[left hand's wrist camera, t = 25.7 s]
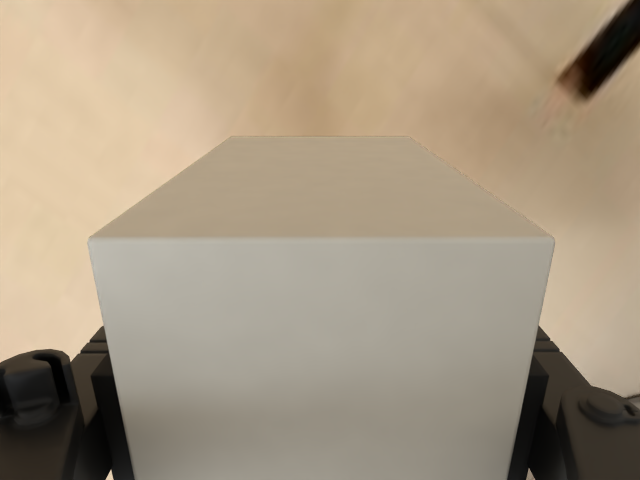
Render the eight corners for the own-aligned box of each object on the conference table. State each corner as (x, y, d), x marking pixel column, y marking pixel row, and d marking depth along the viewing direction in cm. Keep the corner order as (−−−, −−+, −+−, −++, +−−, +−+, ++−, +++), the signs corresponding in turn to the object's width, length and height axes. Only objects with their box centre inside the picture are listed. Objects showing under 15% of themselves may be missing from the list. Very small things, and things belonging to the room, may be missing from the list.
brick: (410, 136, 16) (559, 237, 6) (396, 328, 19) (482, 612, 9) (229, 135, 16) (83, 238, 6) (243, 328, 19) (159, 612, 9)
